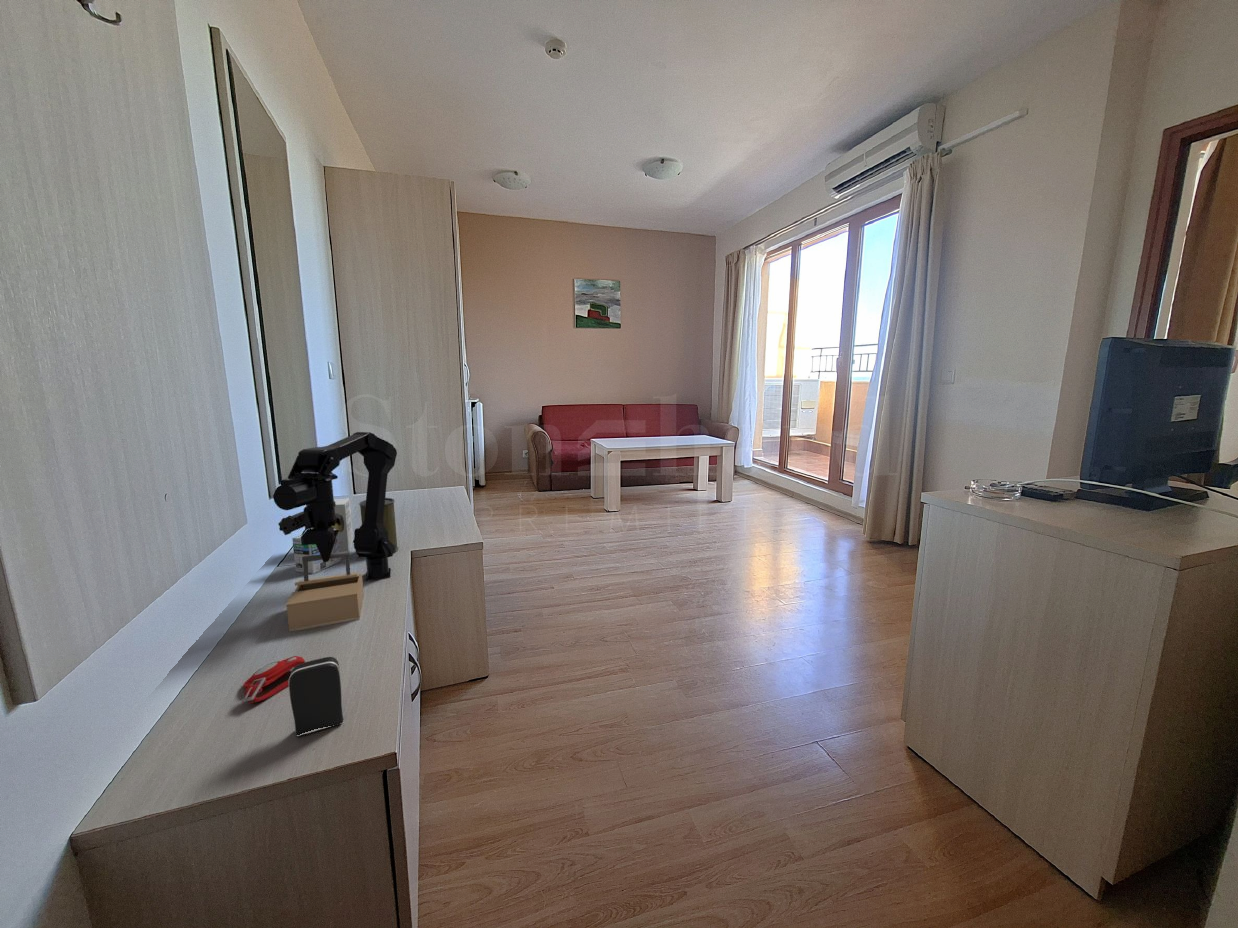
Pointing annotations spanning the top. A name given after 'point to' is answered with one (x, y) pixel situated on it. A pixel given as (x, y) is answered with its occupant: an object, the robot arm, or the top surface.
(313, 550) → the light bulb box
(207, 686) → the top surface
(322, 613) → the kraft carton
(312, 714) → the battery charger
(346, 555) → the carton flap
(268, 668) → the tracker holder
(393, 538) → the canister
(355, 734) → the top surface
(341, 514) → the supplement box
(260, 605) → the top surface
